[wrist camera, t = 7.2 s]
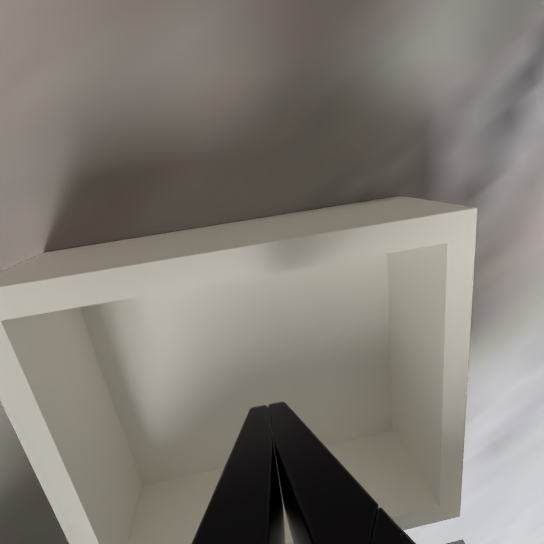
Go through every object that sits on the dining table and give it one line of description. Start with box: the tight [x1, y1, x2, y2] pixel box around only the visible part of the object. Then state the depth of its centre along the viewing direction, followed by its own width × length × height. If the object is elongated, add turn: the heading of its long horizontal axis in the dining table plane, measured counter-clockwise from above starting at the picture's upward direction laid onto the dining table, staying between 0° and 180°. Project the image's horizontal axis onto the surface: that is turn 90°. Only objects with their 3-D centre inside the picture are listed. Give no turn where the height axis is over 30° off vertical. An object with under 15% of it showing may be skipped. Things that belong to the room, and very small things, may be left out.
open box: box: [0, 196, 477, 544], centre depth 15 cm, size 14×16×5 cm
